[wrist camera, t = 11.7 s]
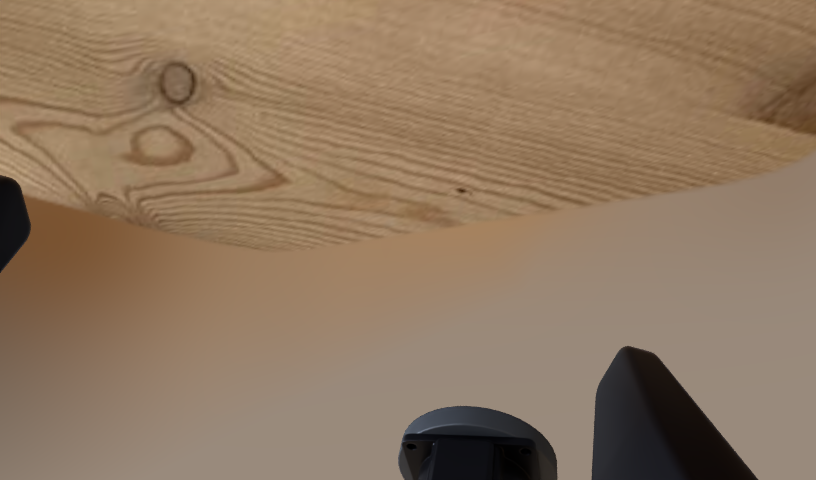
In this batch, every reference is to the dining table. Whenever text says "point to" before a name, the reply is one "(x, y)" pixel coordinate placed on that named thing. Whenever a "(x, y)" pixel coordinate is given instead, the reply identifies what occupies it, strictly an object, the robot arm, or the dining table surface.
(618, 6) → the dining table surface
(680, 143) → the dining table surface
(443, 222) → the dining table surface
